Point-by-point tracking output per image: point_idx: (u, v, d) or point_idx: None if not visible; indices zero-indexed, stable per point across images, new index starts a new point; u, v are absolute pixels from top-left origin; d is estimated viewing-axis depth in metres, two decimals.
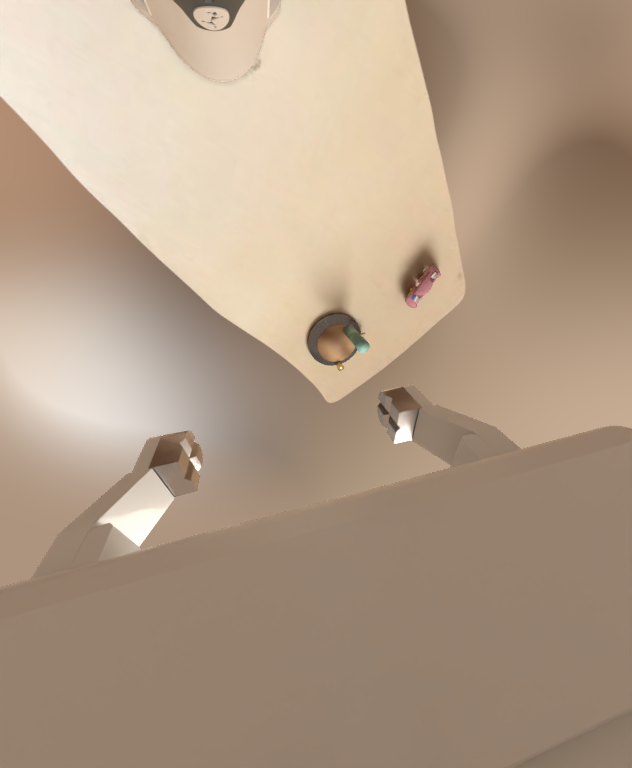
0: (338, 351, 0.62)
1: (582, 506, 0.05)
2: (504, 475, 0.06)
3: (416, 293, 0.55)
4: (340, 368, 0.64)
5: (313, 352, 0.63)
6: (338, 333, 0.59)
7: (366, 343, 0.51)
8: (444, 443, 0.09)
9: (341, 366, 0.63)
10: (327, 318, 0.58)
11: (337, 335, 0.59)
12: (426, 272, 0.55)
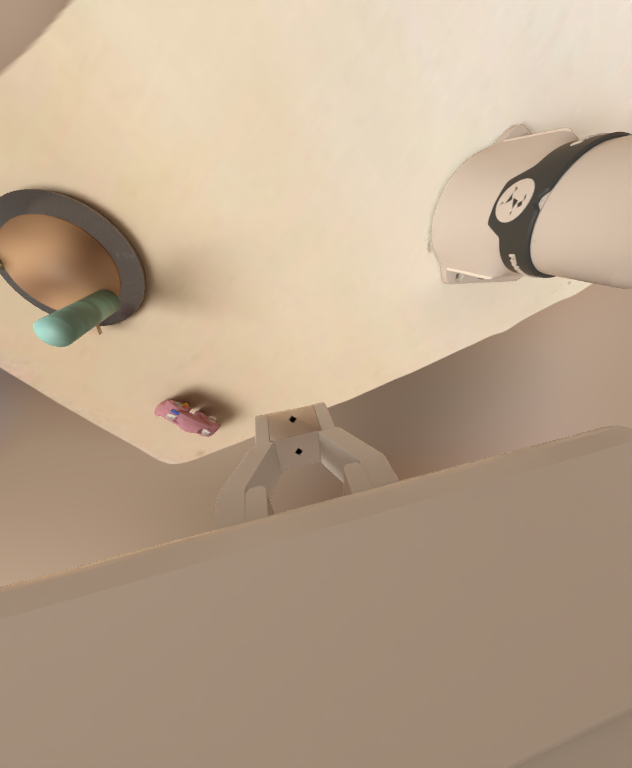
0: (39, 269, 0.26)
1: (582, 506, 0.05)
2: (504, 475, 0.06)
3: (181, 415, 0.37)
4: None
5: (26, 198, 0.24)
6: (95, 277, 0.27)
7: (67, 340, 0.21)
8: (342, 468, 0.09)
9: None
10: (134, 260, 0.29)
11: (90, 274, 0.27)
12: (210, 421, 0.41)
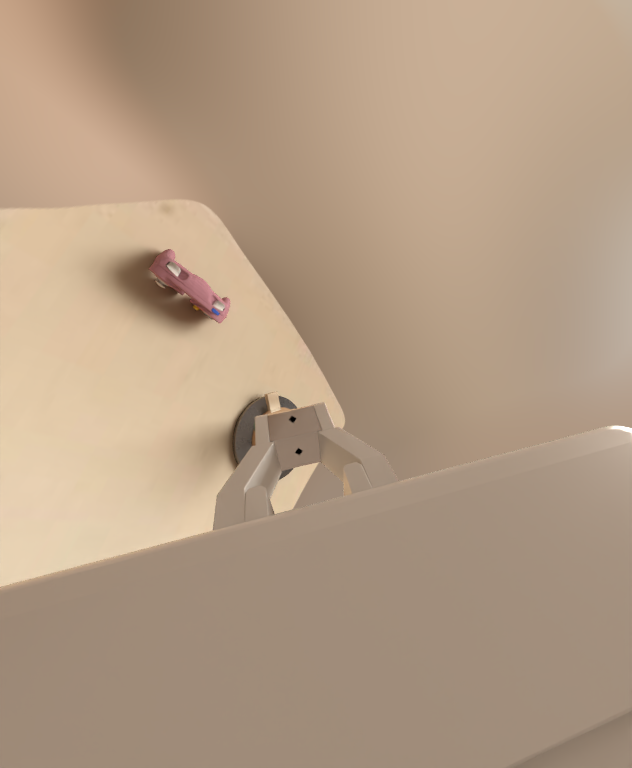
0: None
1: (581, 506, 0.05)
2: (504, 475, 0.06)
3: (209, 307, 0.30)
4: None
5: None
6: None
7: None
8: (342, 468, 0.09)
9: None
10: None
11: None
12: (167, 283, 0.28)
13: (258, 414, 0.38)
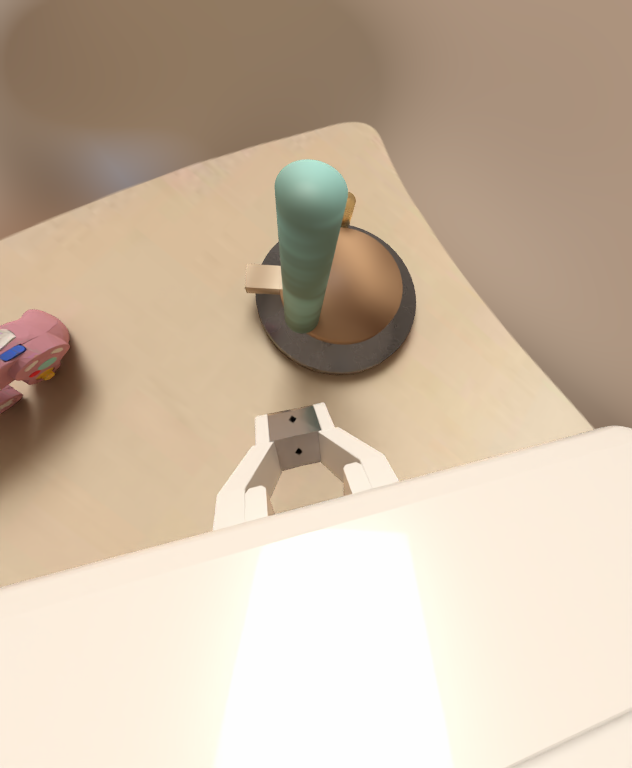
0: (340, 258, 0.20)
1: (582, 506, 0.05)
2: (504, 475, 0.06)
3: None
4: (347, 198, 0.19)
5: (405, 282, 0.22)
6: (334, 314, 0.19)
7: (293, 205, 0.08)
8: (342, 468, 0.09)
9: None
10: (353, 367, 0.20)
11: (338, 309, 0.19)
12: None
13: (283, 314, 0.20)
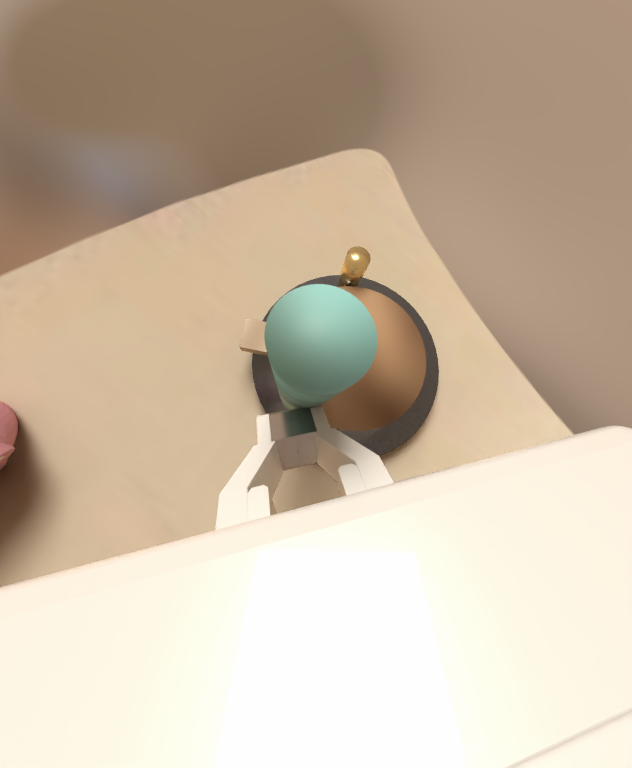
0: None
1: (582, 506, 0.05)
2: (504, 475, 0.06)
3: None
4: (360, 255, 0.16)
5: (425, 344, 0.19)
6: (340, 395, 0.16)
7: (288, 361, 0.05)
8: None
9: (356, 262, 0.16)
10: None
11: (346, 389, 0.16)
12: None
13: None
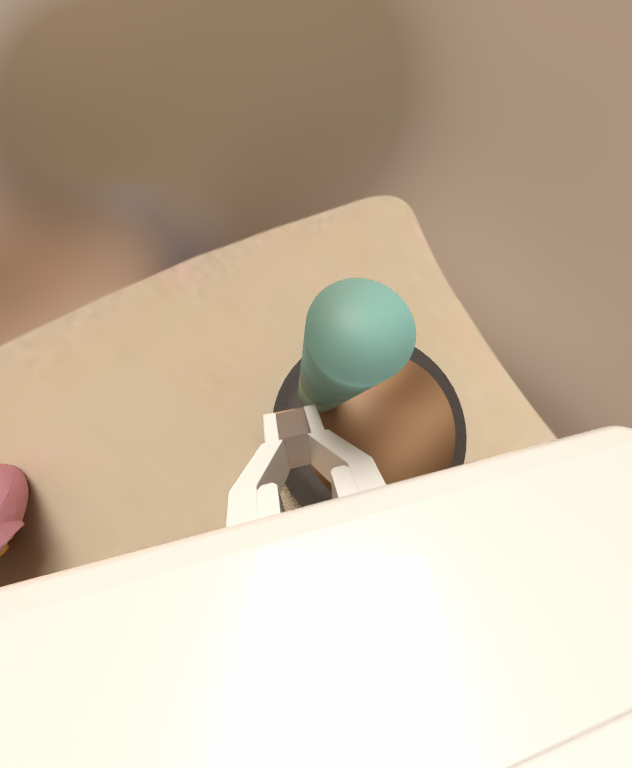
0: (409, 416, 0.16)
1: (582, 506, 0.05)
2: (504, 475, 0.06)
3: None
4: None
5: (452, 407, 0.18)
6: (335, 430, 0.15)
7: (324, 310, 0.06)
8: None
9: None
10: None
11: (342, 433, 0.15)
12: None
13: None
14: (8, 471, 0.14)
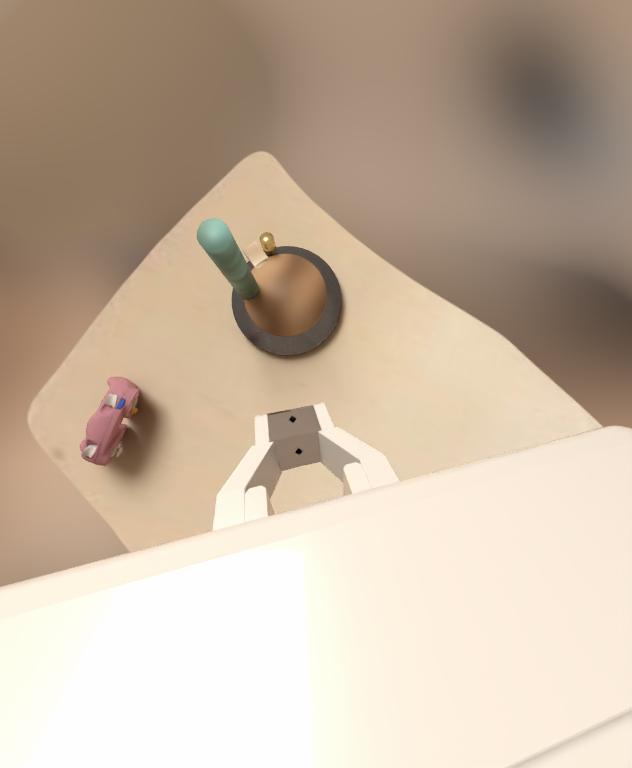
0: (298, 284, 0.29)
1: (582, 506, 0.05)
2: (504, 475, 0.06)
3: (116, 412, 0.26)
4: (267, 237, 0.28)
5: (328, 273, 0.31)
6: (262, 304, 0.29)
7: (201, 233, 0.19)
8: (342, 468, 0.09)
9: (266, 242, 0.28)
10: (313, 344, 0.31)
11: (267, 304, 0.29)
12: (112, 450, 0.27)
13: (258, 327, 0.31)
14: (120, 377, 0.30)
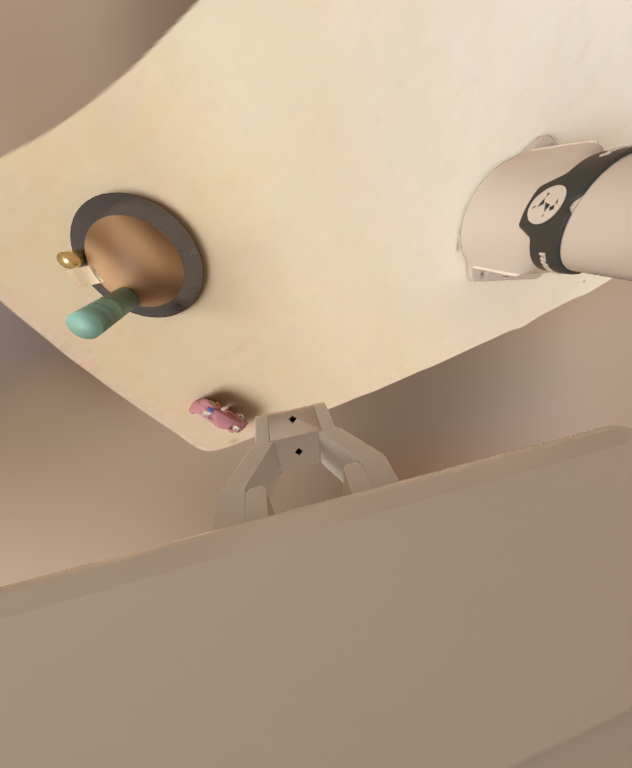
0: (125, 246, 0.28)
1: (582, 506, 0.05)
2: (504, 475, 0.06)
3: (215, 412, 0.41)
4: (64, 259, 0.26)
5: (111, 201, 0.27)
6: (145, 290, 0.31)
7: (82, 334, 0.23)
8: (342, 468, 0.09)
9: (71, 262, 0.27)
10: (197, 257, 0.32)
11: (146, 286, 0.31)
12: (239, 418, 0.44)
13: None
14: (191, 405, 0.44)
